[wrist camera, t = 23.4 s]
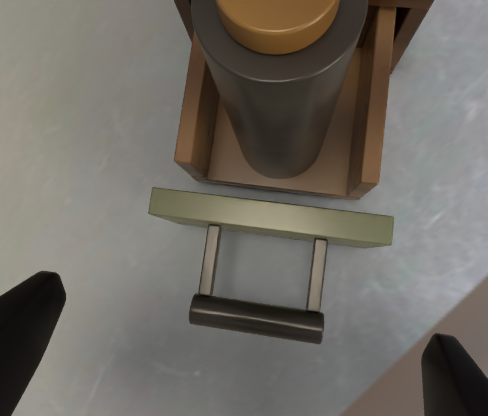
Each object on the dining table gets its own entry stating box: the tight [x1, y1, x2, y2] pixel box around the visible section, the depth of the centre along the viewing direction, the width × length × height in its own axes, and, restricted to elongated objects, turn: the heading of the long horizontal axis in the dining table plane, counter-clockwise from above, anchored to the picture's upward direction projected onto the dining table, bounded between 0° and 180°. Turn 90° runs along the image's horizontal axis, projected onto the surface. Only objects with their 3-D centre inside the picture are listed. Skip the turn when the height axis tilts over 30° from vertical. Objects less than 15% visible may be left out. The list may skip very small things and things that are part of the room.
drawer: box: [148, 5, 397, 344], centre depth 20 cm, size 16×10×5 cm, turn 172°
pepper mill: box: [191, 0, 368, 179], centre depth 15 cm, size 4×4×13 cm
